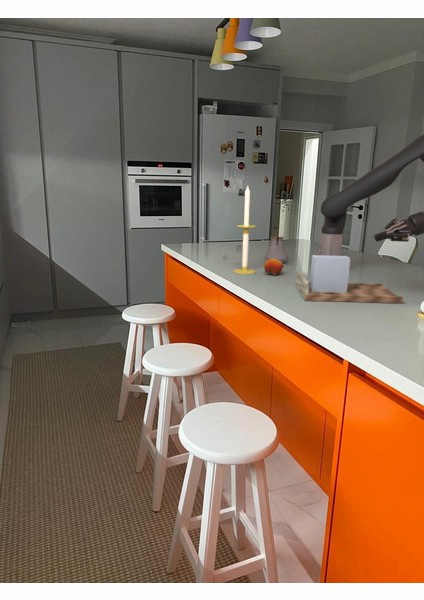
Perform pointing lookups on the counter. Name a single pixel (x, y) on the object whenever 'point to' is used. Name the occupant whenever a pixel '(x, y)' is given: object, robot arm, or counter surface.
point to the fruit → (273, 266)
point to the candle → (245, 236)
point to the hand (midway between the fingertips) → (375, 238)
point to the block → (329, 273)
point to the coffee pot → (276, 250)
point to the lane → (348, 293)
